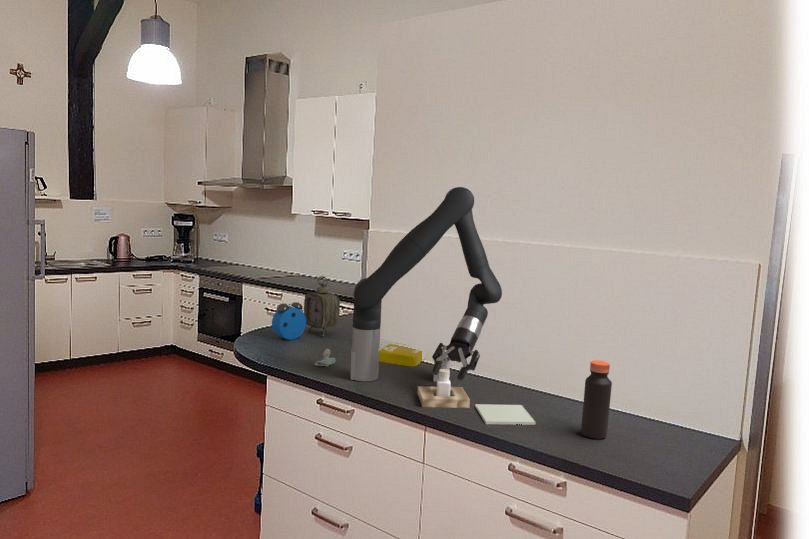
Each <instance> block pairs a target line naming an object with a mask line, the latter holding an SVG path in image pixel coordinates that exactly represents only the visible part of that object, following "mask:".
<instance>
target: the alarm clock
mask: <svg viewBox="0 0 809 539" xmlns="http://www.w3.org/2000/svg"><path fill="white" fill-rule="evenodd" d="M303 310H304V306H303V305H302V304H301V303H300V302H299V301H298V302H297V301H296V302H295V301H294V302H292V303H284V302H283V303H279V305H277V307H276V311H275V312H274V314H273V316H272V319H271V328H272V331H273V333H274V334H275V335H276V336H277V337H278V340H280V338H283V339H285V340H288V341H293V340H296V339H298V338H299V337H300V336H302V334H303V333H304V331H305V329H306V326H307V324H306V317H305V315H304V311H303Z"/></svg>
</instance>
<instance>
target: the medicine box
mask: <svg viewBox="0 0 809 539" xmlns="http://www.w3.org/2000/svg"><path fill="white" fill-rule="evenodd" d="M443 353H444V352H443ZM446 357H448V355H447V356H446ZM433 361H434V360H433ZM435 363H436V362H435V361H434V362H433V366H434V365H435ZM440 369H447V370H449V371H450V372H451V370H450V369H451V360H450V361H448V362H445V363H444V364H442V366H441V368H440ZM432 379H433V382H434V383H437V380H439V372H438V374H437V375H435V374H434V373H433V378H432Z"/></svg>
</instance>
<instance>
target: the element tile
mask: <svg viewBox="0 0 809 539" xmlns="http://www.w3.org/2000/svg"><path fill="white" fill-rule="evenodd" d="M421 361H422V351H420V350H418V349H417V350H416V349H412V348H408V347H404V346H399V345H396V344H391V343H389V344H387V345H385V346H383V347H382V348H379V363H386V364H392V365H399V366H406V367H417V366H418V365H419V364H421V363H422V362H423V361H422V362H421ZM420 362H421V363H420Z"/></svg>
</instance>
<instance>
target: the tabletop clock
mask: <svg viewBox="0 0 809 539" xmlns="http://www.w3.org/2000/svg"><path fill="white" fill-rule="evenodd" d="M320 279H325V281H326V284H325V283H324V282H321V283H320ZM317 283H318V285H319V286H320V287H318V288H316V291H315V292H307V293H305V296H304V301H303V313H304V315H305V317H306V326H309V327H310V328H307V331H306V332H307V333H311V331H312V329H313V328H314V329H323V330H322V331H323V332H322V333H321V337H322V338H325V337H326V335H327V333H328V330H326V329H327V328H333V327H336V326H337V325H338V324H339V320H340V312H341V309H340V308H341V306H340V305H341V304H340V303H341V301H340V298H339V297H338V296H337V295H335V294H333V293H330V292H329V289H328V288H327V287H326V286H328V284H329V282H328V278H327V277H326V276H324V275H321V276H319V277H318V278H317Z"/></svg>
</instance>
